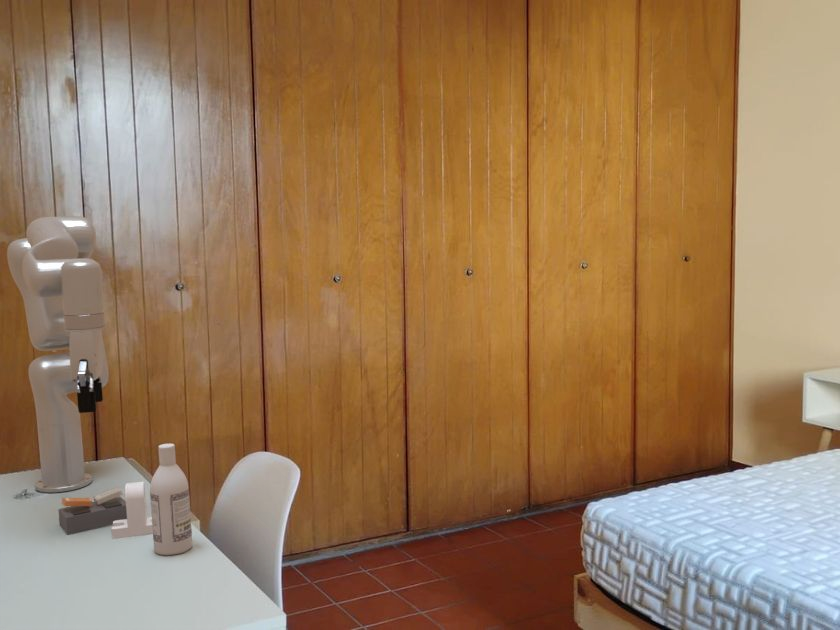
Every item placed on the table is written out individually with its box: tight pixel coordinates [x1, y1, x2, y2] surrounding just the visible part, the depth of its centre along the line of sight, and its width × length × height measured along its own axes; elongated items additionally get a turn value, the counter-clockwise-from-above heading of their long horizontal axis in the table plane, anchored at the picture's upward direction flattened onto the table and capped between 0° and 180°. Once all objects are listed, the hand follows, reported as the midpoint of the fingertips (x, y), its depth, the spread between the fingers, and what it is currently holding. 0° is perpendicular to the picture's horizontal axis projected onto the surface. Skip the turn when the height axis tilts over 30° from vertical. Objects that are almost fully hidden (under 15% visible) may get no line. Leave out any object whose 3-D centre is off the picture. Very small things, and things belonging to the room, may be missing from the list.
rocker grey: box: [93, 486, 124, 505], centre depth 176 cm, size 3×5×1 cm, turn 125°
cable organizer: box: [111, 481, 153, 540], centre depth 168 cm, size 5×10×10 cm, turn 106°
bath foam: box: [149, 443, 193, 556], centre depth 157 cm, size 7×7×20 cm
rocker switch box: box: [57, 495, 127, 536], centre depth 175 cm, size 10×12×4 cm
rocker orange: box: [61, 497, 93, 507], centre depth 173 cm, size 3×5×1 cm, turn 125°
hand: (91, 406), depth 169 cm, fingers open, 9 cm apart
